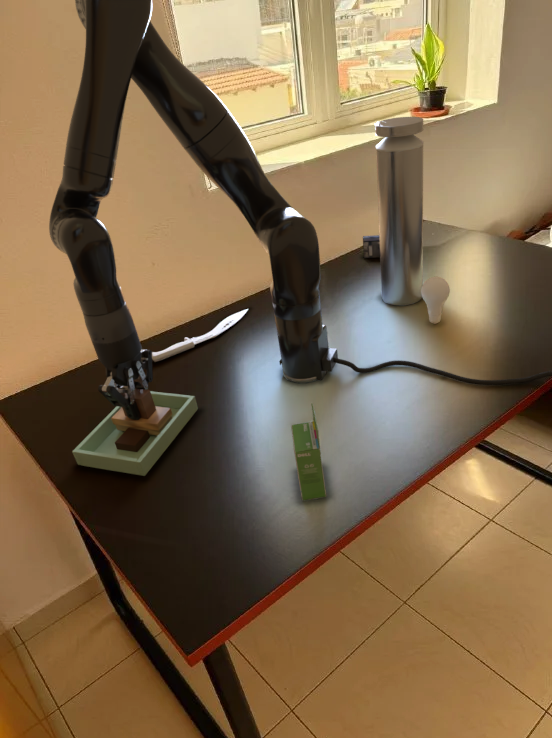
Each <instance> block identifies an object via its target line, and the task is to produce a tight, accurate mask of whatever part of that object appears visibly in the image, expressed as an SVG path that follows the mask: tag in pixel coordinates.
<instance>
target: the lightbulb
mask: <svg viewBox="0 0 552 738" xmlns="http://www.w3.org/2000/svg"><path fill="white" fill-rule="evenodd" d="M450 293H451V289H450V285H449V283H448V281H447V280H446V279H445V278H443V277H440V276H431V277H429V278H427V279H426V280H425V281H423V285H422V288H421V294H422V299H423V301H424V302H425V305H426V307H427V313H428V321H429V322H430V323H431V324H434V325H437V324H439V323H440V322H441V320H442V314H443V308H444V305H445V302H447V299H448V298H449V296H450Z"/></svg>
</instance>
